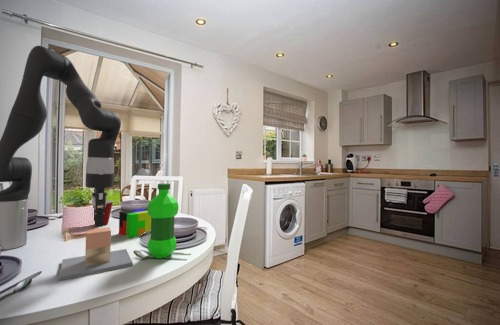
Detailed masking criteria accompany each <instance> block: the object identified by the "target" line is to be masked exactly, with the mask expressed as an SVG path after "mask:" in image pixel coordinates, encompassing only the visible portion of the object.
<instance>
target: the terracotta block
mask: <svg viewBox="0 0 500 325" xmlns="http://www.w3.org/2000/svg"><path fill="white" fill-rule="evenodd" d="M111 240H112V230H111V227H110V226H108V227H101V228H100V227H97V228H91V229H90V228H89V229H85V250H88V249H94V248H101V247H108V246H111V245H112V243H111V242H112V241H111Z"/></svg>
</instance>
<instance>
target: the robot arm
mask: <svg viewBox="0 0 500 325" xmlns="http://www.w3.org/2000/svg"><path fill="white" fill-rule="evenodd" d="M43 77H46V78H49V79H53V80H56V81H60V82H61V83H63V84H64V85H65V86H66V87H65V94H66V97H67V99H68V100H69V102H70V103H71V104H72V105H73V106H74V108H75V109H77V112H78V115H79V118H80V120H81V122H82V124H83V125H84V127H86V128H87V129H90V131H91V130H92V131H98V132H101V134H100V136H99V137H97V138H91V139H89V141H88V144H87V160H86V166H85V184H84V185H85V188H89V189H93V192H92V193H91V200H92V201H91V203H92V204H93V208H94V219H93V222H94V221H95V224H94V227H95V228H100V227H101V228H103V225H104V213H105V212H106V210H105V207H106V201H107V199H108V193H107V192H105V189H107V188H113V187H114V180H115V160H114V158H115V145H116V142H117V138H118V136H119V134H120V130H121V126H122V121H121V117H120V115H119V114H118V113H117V112H114V111H113V110H108V109H104V108H102V104H101V103H102V102H101V101H100V100H99V98H98V97H97V96H96V95H95V94H94V92H93V91H92V90H91V89H90V88H89V87H88V86H87V85H86V84H85V82H84V81H83V79H82V77H81V75H80V74H79V72H78V71H77V69H76V67H75V66H74V63H73V62H72V61H71V60H70V59H69V58H68V57H67V56H65V55H64V54H61V53H59V52H57V51H55V50H52V49H50V48H47V47H46V46H43V45H35V46H33V47H32V49H30V52H29V53H28V56H27V59H26V62H25V66H24V71H23V75H22V79H21V84H20V86H19V89H18V93H17V95H16V98H15V100H14V103H13V106H12V107H11V110H10V113H9V116H8V117H7V118H8V119H7V121H6V125H5V128H4V130H3V133H2V135H1V137H0V183H9V182H10V186H8V187H7V188H5V189H2V190H0V247H1V248H2V249H1V250H0V251H5V250H12V249H17V248H20V247H23V246H25V245H27V239H28V238H27V237H28V212H29V211H28V210H29V209H28V208H29V207H28V206H29V195H30V192H31V184H32V183H31V182H32V174H33V167H32V162H31V160H30V159H29V158H27V157H22V156H21V157H19V156H18V157H17V156H14V155H15V154H16V152H17V151H18V150H19V149H20V148H21V147H22V146H23V145H25V144H27V143H28V142H29V141H31V140H33V138H35V137H37V135H39V134H40V133H41V131H42V130H43V127H44V125H45V122H46V119H47V116H48V111H47V107H46V105H45V101H44V99H43V97H42V93H41V84H42V80H43ZM104 226H105V225H104Z"/></svg>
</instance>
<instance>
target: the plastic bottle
mask: <svg viewBox="0 0 500 325" xmlns="http://www.w3.org/2000/svg"><path fill="white" fill-rule="evenodd" d="M157 190H158V194H157V195H155V196H154V197H153V198H152V199H151V200H150V201H149V202H148V204H147V211H148V215H149V216H150V217H151V233H150V238H149V239H148V242H147V251H148V253H149V254H151V255H152V256H153V257H154V258H156V259H163V258H162V257H165V258H168V257H170V255H171V254H172V253H173V252H175V251H176V249H177V239H176V236H175V217H176V215H177V214H178V212H179V202H178V200H177V199H176V198H175V197H174V196H172V195H171V194H170V193H169V190H171V183H158V184H157ZM167 256H168V257H167Z"/></svg>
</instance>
